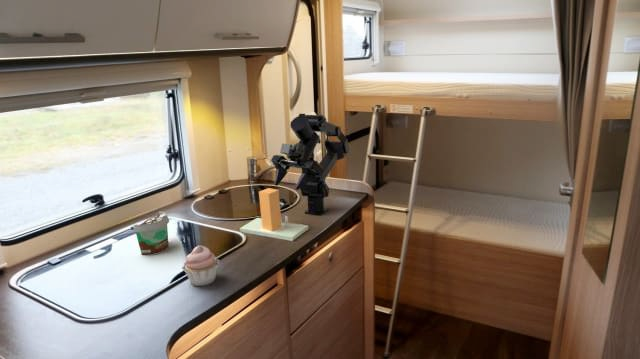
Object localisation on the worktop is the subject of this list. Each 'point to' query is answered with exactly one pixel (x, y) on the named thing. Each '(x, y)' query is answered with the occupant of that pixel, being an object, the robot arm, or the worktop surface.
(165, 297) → the worktop surface
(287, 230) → the board
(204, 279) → the cupcake
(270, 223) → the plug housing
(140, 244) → the food container
